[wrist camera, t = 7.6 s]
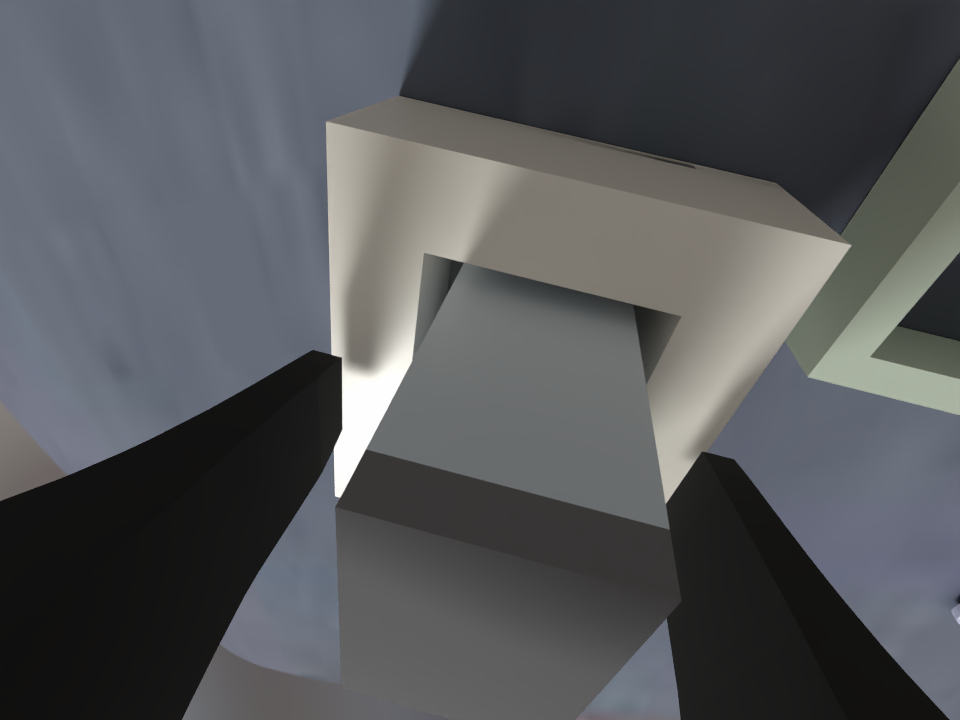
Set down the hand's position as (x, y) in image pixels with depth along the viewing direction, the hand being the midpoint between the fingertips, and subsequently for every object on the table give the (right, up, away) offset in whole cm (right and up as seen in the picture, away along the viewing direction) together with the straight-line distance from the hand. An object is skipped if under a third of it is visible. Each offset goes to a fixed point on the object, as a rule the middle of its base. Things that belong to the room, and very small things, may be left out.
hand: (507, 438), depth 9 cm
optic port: (+1, +2, +4) cm, 4 cm away
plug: (+1, +2, +3) cm, 4 cm away
